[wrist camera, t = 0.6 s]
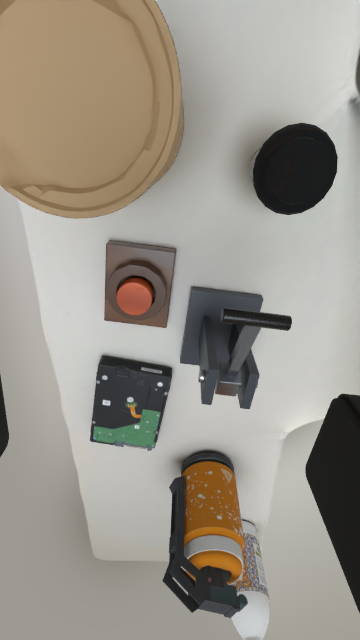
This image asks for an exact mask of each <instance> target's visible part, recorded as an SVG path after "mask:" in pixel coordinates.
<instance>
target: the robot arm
mask: <svg viewBox="0 0 360 640" xmlns="http://www.w3.org/2000/svg"><path fill="white" fill-rule="evenodd" d="M8 440H9V432H8V425H7V419H6V411H5V405H4V397H3V391H2V384H1V376H0V457H1V455H2V454H3V452H4V450H5V449H6V447H7V444H8ZM306 477H307V480H308V483H309V485H310V488H311V490H312V493H313V495H314V498H315V501H316V503H317V506H318V508H319V511H320V513H321V516H322V518H323V521H324V524H325V526H326V528H327V531H328V534H329V536H330V539H331V541H332V544H333V547H334V549H335V551H336V554H337V557H338V559H339V561H340V564H341V567H342V569H343V572H344V575H345V577H346V580H347V582H348V585H349V587H350V590H351V593H352V595H353V597H354V600H355V602H356V605H357V608H358V610H359V612H360V396H359V395H349V394H341V395H339V396H338V398H335V399H333V400H332V402H331V404H330V407H329V409H328V412H327V414H326V417H325V419H324V422H323V424H322V426H321V429H320V432H319V434H318V437H317V439H316V441H315V444H314V446H313V449H312V451H311V454H310V456H309V459H308V461H307V464H306Z"/></svg>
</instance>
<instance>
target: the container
mask: <svg viewBox="0 0 360 640" xmlns="http://www.w3.org/2000/svg"><path fill="white" fill-rule="evenodd" d="M183 129H184V112H183V103H182V88H181V78H180V70H179V63H178V58H177V53H176V49H175V45H174V42H173V38H172V36H171V33H170V30H169V27H168V25H167V23H166V21H165V18H164V16H163V14H162V12H161V10H160V8H159V6H158V4H157V3H156V1H155V0H0V185H1V186H2V187H3V188H4V189H5V190H6V191H7V192H9V193H11V194H12V195H13V196H15V197H16V198H18V199H19V200H21V201H23V202H24V203H26V204H28V205H30V206H32V207H34V208H36V209H38V210H41V211H43V212H45V213H49V214H53V215H56V216H61V217H66V218H92V217H98V216H103V215H107V214H110V213H113V212H115V211H117V210H119V209H122V208H124V207H125V206H127V205H128V204H130V203H131V202H133V201H134V200H136V199H137V198H139V197H140V196H141V195H142V194H143V193H144V192H145V191H146V190H148V189H149V188H150V187H151V186H152V185H153V184H154V183H155V182H157V181H158V180H159V179H160V178H161V177H162V176H163V175H164V174H165V173H166V172H167V171H168V170H169V168H170V167H171V165H172V164H173V162H174V160H175V158H176V156H177V153H178V150H179V148H180V144H181V140H182V136H183Z"/></svg>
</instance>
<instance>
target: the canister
mask: <svg viewBox="0 0 360 640" xmlns="http://www.w3.org/2000/svg"><path fill="white" fill-rule="evenodd" d="M169 488H170V490H171V492H172V515H171V537H170V542H169V543H170V544H169V546H170V547H169V553H170V561H169V566H168V568H167V570H166V573H165V576H164V578H163V582H164V583H165V584H166V585H167V586H168V587H169V588H170V589H171V591H172V592H173V593H174V594H175V595H176V596H177V597H178V598H179V599H180V600H181V601H182V602H183V604H184V605H185V606H186V607H187V608H188V609H189V610H190V611H191V612H194V611H195V610H197V609H201V610H205V611H210V612H215V613H219V614H223V615H224V616H225V617H229V618H231V617H232V616H233V615H235V614H236V613H237V612H240V611H241V610H242V609H243V608H244V607H245V606H246V605H247V604H248V601H247V598H246V597H245V595H243V594H240V595H238V596H237V589H236V586H232V585H229V584H231V583H233V582H235V581H236V580H237V579H238V578H239V577H240V575H241V573H242V569H243V558H242V552H243V551H244V548H245V542H244V536H243V529H242V522H241V515H240V508H239V502H238V495H237V488H236V481H235V475H234V468H233V465H232V463H231V462H230V461H229V460H228V459H227V458H226V457H224V456H222V455H219V454H215V453H201V454H197V455H194V456H192V457H190V458H189V459H187V460H186V461H185V462H184V464H183V466H182V469H181V477H178V478H175V479H174V480H173V482H172V484H171V485H170V487H169ZM181 566H182V567H183V568H184V569H185V571H186V572H185V571H184V570H183V569H182V568H181ZM172 577H174V578H175V579H176V580H177V581H178V582H179V583H180V585H181V586H182V587H183V588H184V589H185V590H186V591H187V592H188V595H187V594H186V593H185V592H184V591H183V590H182V589H181V587H179V586H178V584H177V583H176V582H175V581H174V580H173V579H172Z"/></svg>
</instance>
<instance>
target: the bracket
mask: <svg viewBox="0 0 360 640" xmlns="http://www.w3.org/2000/svg"><path fill="white" fill-rule="evenodd" d="M262 302H263V298H262V296H261V295H255V294H247V293H239V292H231V291H223V290H216V289H208V288H200V287H191V293H190V299H189V306H188V312H187V319H186V325H185V332H184V338H183V345H182V351H181V358H180V363H184V364H192V365H199V366H200V371H199V382H200V383H201V400H202V404H207V405H211V404H212V399H213V395H214V390H215V386H216V381H217V377H218V372H219V367H218V366H219V363H220V361H224V362H228V361H229V359H230V357H231V354H232V352H233V350H234V347H235V345H236V343H237V340H238V338H239V336H240V333H241V331H242V329H243V326H244V325H238V324H230V323H222V322H221V312H222V309H223V308H230V309H238V310H246V311H254V312H260V309H261V305H262ZM241 372H242V385H241V387H240V389H239V391H238V393H237V394H238V399H239V404H240V408H244V409H250V406H251V402H252V399H253V396H254V392H255V389H256V388H257V385H258V379H259V372H258V369H257V366H256V363H255V360H254V357H253V354H252V351H251V349H250V351H249V353H248V355H247V357H246V359H245V361H244V363H243V365H242V367H241Z"/></svg>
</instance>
